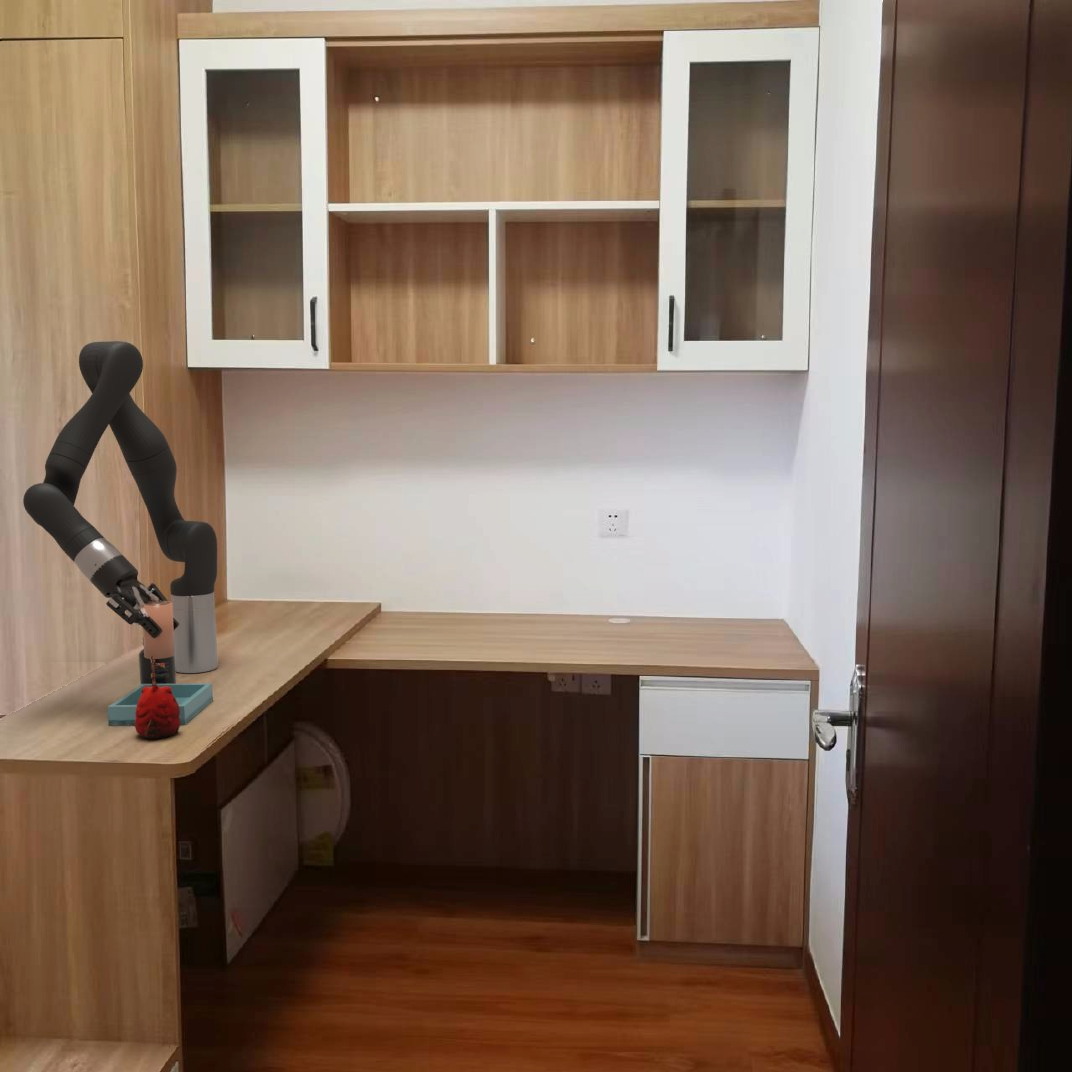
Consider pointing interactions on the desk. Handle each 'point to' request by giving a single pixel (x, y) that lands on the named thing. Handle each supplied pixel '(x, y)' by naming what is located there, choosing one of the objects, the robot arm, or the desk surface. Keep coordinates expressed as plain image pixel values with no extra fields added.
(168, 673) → the supplement bottle
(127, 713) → the teal tray
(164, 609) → the terracotta cup
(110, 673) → the desk surface
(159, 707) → the red clay folk toy
